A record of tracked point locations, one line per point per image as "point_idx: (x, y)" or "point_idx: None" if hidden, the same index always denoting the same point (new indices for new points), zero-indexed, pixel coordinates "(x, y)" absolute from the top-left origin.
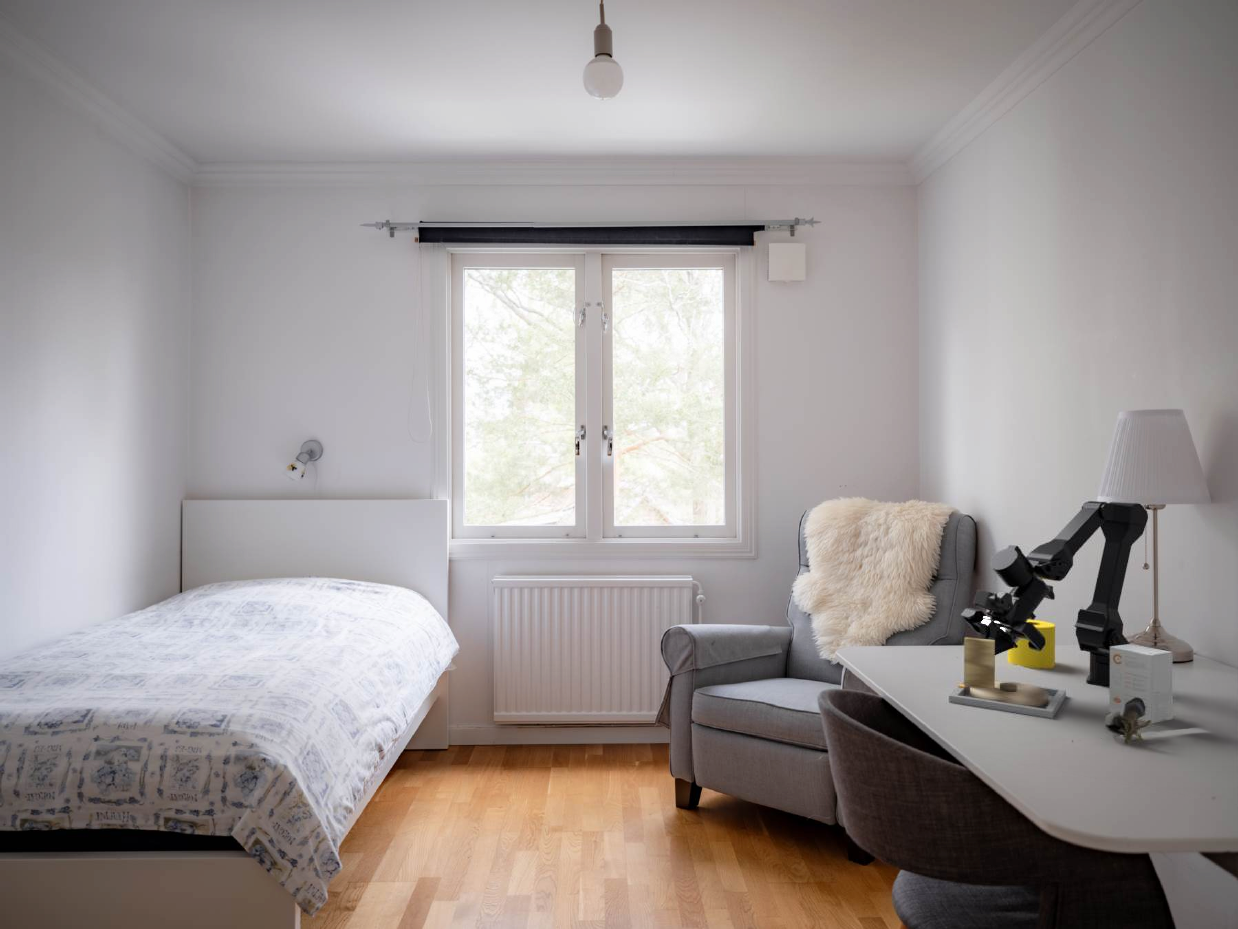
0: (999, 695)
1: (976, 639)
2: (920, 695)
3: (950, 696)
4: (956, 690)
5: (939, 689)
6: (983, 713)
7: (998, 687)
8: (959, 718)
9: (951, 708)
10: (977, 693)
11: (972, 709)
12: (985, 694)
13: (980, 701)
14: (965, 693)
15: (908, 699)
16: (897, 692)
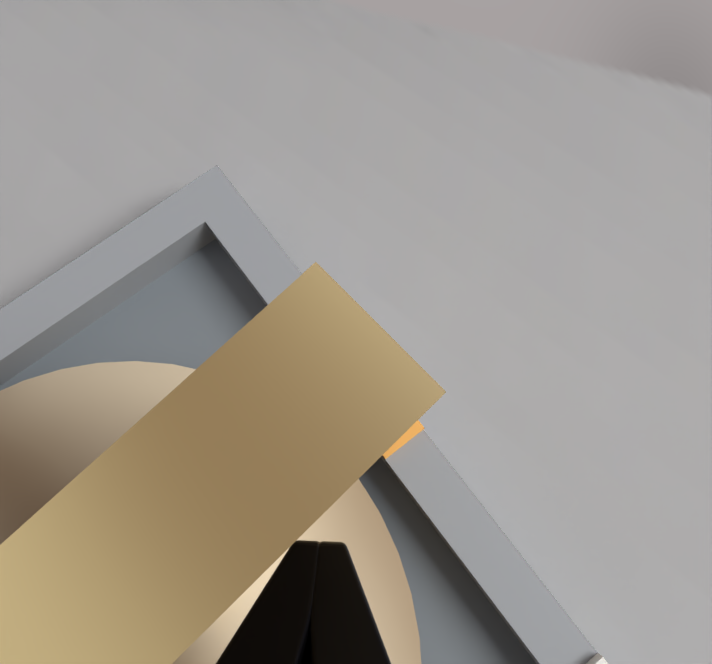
0: (5, 462)
1: (146, 471)
2: (489, 186)
3: (209, 173)
4: None
5: (595, 403)
6: None
7: (197, 652)
8: (18, 102)
9: None
10: (152, 365)
11: None
12: (74, 376)
13: (40, 288)
14: None
15: (429, 70)
16: (585, 98)
